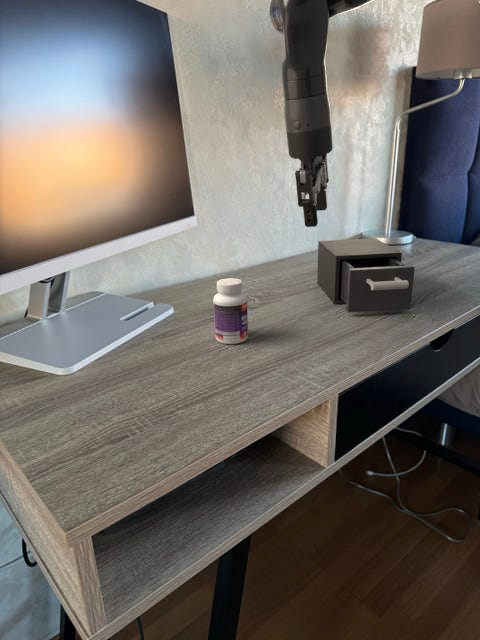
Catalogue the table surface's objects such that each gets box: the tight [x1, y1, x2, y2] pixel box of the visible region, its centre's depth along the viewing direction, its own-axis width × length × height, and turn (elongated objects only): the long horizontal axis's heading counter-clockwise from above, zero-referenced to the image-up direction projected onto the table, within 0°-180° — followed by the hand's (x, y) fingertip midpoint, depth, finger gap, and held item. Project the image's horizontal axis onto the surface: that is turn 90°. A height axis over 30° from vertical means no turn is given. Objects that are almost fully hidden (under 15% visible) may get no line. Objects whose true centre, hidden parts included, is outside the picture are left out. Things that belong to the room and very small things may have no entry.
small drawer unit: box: [316, 237, 403, 305], centre depth 92 cm, size 15×13×10 cm
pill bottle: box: [212, 277, 249, 345], centre depth 71 cm, size 5×5×10 cm
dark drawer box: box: [339, 257, 416, 313], centre depth 83 cm, size 18×11×8 cm, turn 4°
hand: (316, 217), depth 83 cm, fingers open, 8 cm apart
